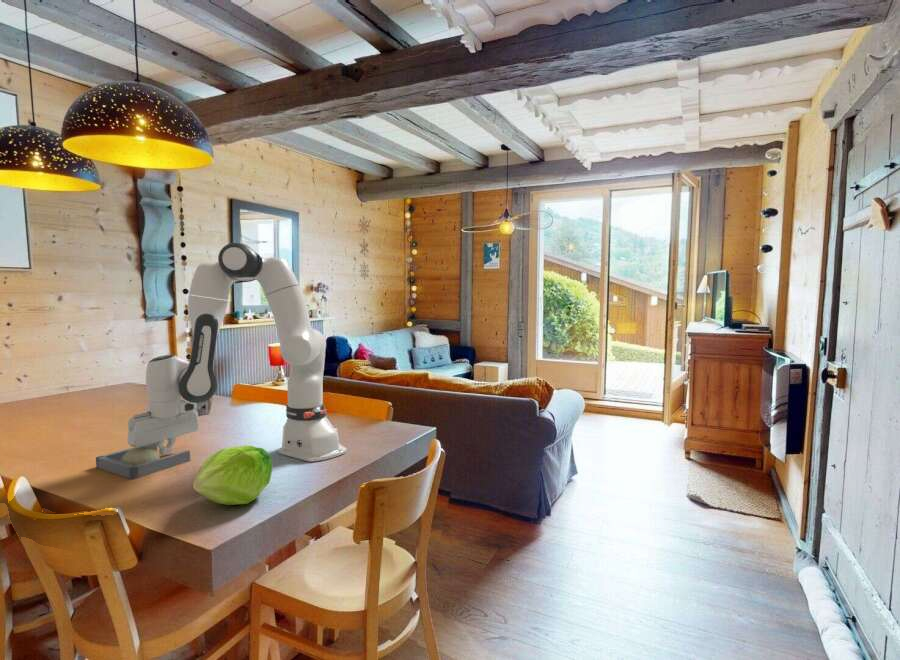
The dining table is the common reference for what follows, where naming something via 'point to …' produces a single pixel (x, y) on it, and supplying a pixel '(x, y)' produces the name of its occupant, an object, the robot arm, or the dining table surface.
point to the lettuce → (234, 475)
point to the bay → (130, 471)
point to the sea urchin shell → (140, 456)
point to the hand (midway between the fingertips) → (165, 452)
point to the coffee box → (205, 407)
